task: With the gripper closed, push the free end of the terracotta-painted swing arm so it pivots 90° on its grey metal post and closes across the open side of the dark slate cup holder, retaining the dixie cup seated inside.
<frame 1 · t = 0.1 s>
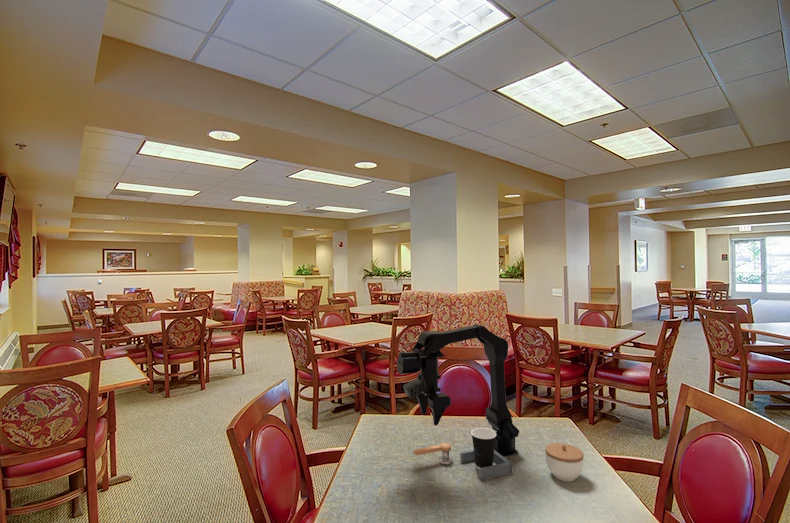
hand: (429, 419, 126), 15 cm above the table, tool pointing down, fingers open, 9 cm apart
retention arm: (432, 449, 127), point 5 cm above the table, hinge at 0.0°
lidded jar: (564, 476, 119), on the table
holder: (483, 467, 124), on the table
dixie cup: (483, 468, 124), on the table
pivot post: (445, 461, 129), on the table
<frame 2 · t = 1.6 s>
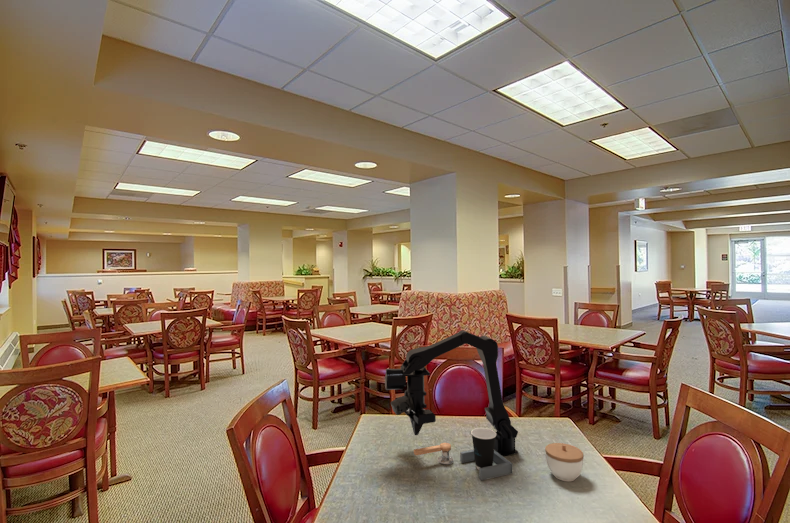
hand: (416, 434, 132), 7 cm above the table, tool pointing down, fingers closed
nothing on the table moved.
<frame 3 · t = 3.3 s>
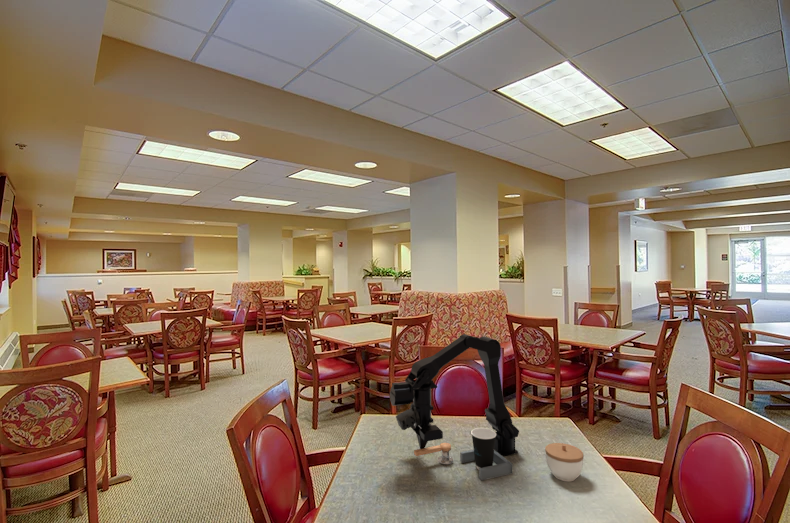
hand: (422, 449, 127), 5 cm above the table, tool pointing down, fingers closed
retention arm: (433, 449, 127), point 5 cm above the table, hinge at 2.2°, touching gripper
everything else where it was.
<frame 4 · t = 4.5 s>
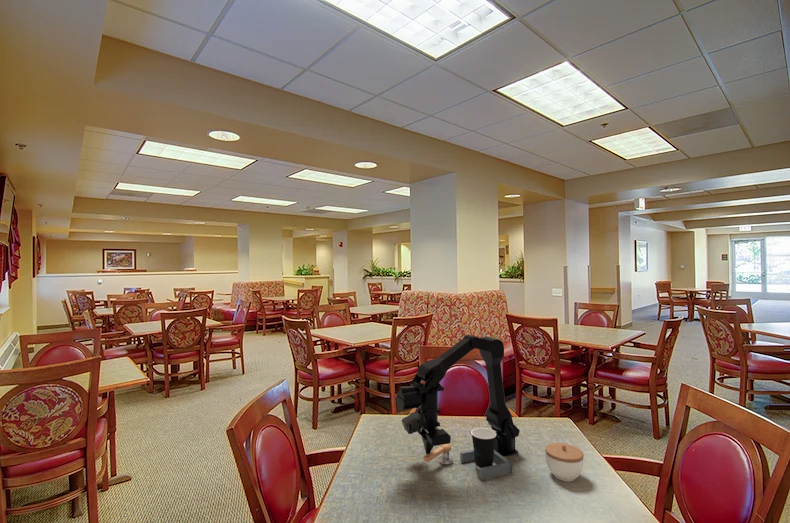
hand: (427, 454, 124), 5 cm above the table, tool pointing down, fingers closed, pressing on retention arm
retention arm: (437, 452, 125), point 5 cm above the table, hinge at 29.3°, touching gripper
everything else where it was.
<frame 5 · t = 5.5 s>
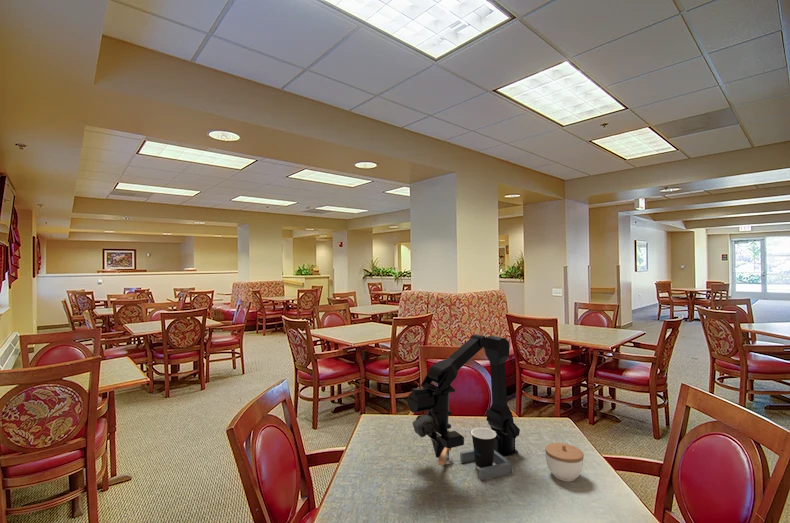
hand: (437, 457, 121), 5 cm above the table, tool pointing down, fingers closed, pressing on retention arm
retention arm: (443, 453, 124), point 5 cm above the table, hinge at 55.7°, touching gripper
everything else where it was.
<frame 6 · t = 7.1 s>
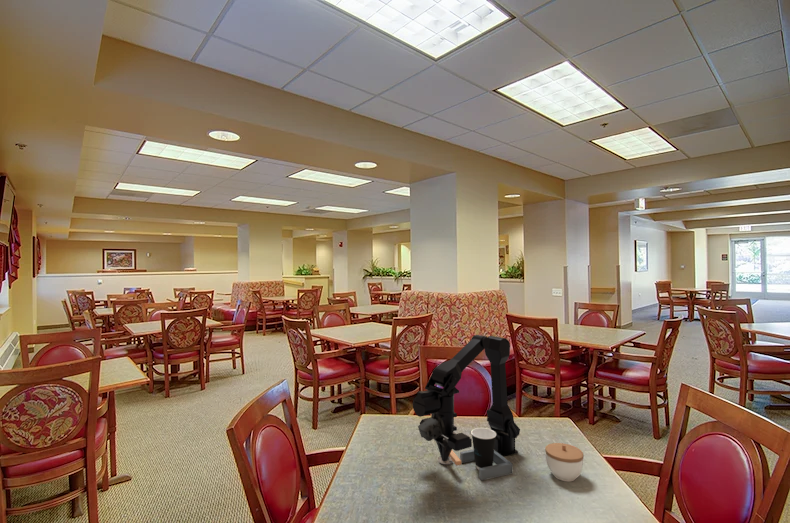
hand: (444, 460, 119), 5 cm above the table, tool pointing down, fingers closed
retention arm: (450, 453, 124), point 5 cm above the table, hinge at 84.1°
everything else where it was.
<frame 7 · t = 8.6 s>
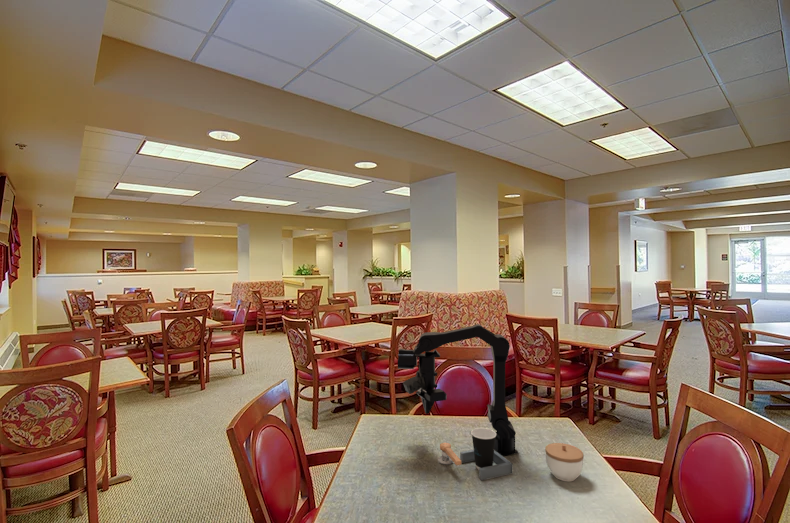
hand: (427, 413, 138), 12 cm above the table, tool pointing down, fingers closed
nothing on the table moved.
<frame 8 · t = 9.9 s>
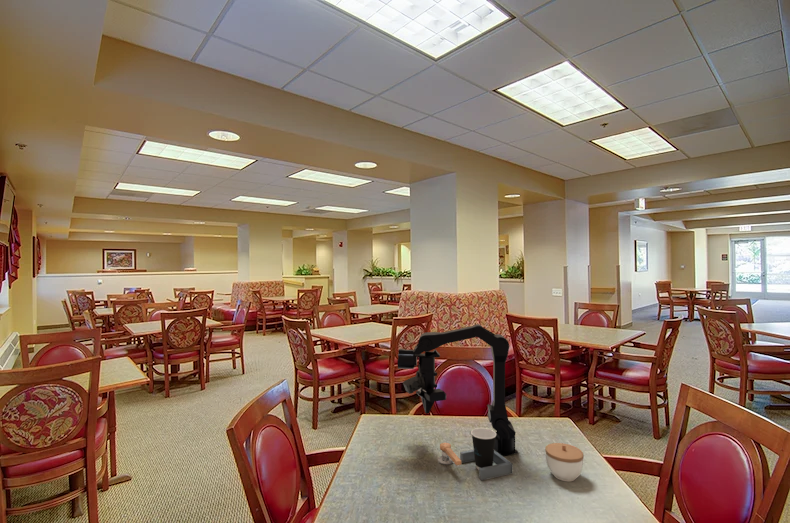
hand: (427, 413, 139), 12 cm above the table, tool pointing down, fingers closed
nothing on the table moved.
at the end: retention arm at +84° (first picture: +0°); dixie cup tilted 0°; dixie cup moved 0.2 cm from its start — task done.
